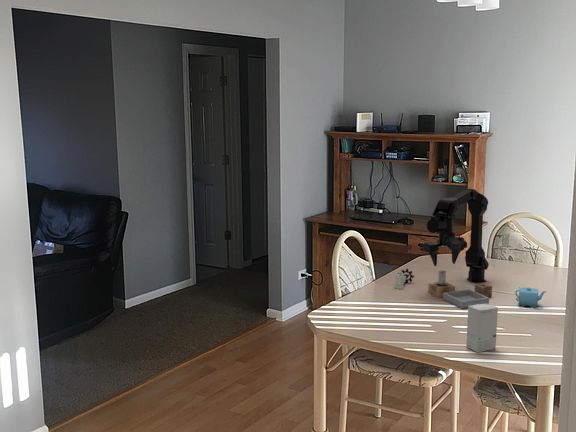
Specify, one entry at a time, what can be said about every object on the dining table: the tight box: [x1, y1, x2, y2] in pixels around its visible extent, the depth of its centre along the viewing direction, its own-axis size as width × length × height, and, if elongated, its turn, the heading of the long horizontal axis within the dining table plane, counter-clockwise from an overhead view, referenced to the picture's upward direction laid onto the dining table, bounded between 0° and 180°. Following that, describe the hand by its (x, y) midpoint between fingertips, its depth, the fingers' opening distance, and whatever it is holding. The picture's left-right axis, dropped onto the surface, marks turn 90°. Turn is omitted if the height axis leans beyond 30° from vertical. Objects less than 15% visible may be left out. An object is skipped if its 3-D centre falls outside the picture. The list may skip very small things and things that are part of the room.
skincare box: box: [465, 303, 499, 353], centre depth 215 cm, size 8×6×15 cm
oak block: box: [427, 281, 456, 298], centre depth 274 cm, size 8×8×4 cm
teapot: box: [514, 286, 548, 309], centre depth 258 cm, size 12×6×8 cm, turn 70°
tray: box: [442, 288, 490, 310], centre depth 263 cm, size 13×13×3 cm
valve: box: [394, 268, 415, 290], centre depth 286 cm, size 7×7×12 cm
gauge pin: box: [437, 269, 447, 287], centre depth 274 cm, size 3×3×10 cm
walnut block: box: [474, 282, 493, 299], centre depth 270 cm, size 5×5×5 cm
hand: (444, 264), depth 272 cm, fingers open, 9 cm apart
